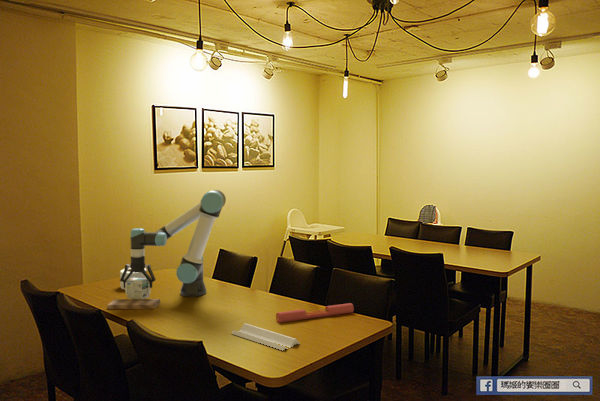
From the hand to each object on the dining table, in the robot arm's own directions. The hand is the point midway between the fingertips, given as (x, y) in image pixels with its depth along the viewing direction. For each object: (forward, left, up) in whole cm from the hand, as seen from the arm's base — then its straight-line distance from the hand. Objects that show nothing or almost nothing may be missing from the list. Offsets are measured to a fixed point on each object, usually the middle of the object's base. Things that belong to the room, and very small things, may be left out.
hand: (138, 293), depth 275 cm
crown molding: (-74, +62, -4) cm, 97 cm away
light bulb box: (0, 0, -3) cm, 3 cm away
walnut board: (-1, +12, -4) cm, 12 cm away
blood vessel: (-99, +32, -4) cm, 104 cm away
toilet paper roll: (+11, -29, -4) cm, 31 cm away
